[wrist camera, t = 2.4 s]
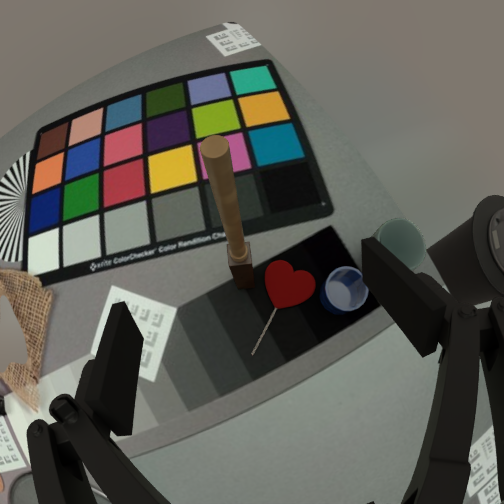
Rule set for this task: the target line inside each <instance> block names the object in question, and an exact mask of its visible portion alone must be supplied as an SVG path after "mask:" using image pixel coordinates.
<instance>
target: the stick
mask: <svg viewBox="0 0 504 504" xmlns="http://www.w3.org/2000/svg"><path fill="white" fill-rule="evenodd" d="M200 151H201V155H202V158H203V161H204V165H205V168H206V171H207V175H208V178H209V181H210V185H211V188H212V191H213V195H214V198H215V201H216V204H217V208H218V211H219V214H220V218H221V221H222V224H223V227H224V230H225V234H226V237H227V240H228V243H229V247H230V249H229V253H230V256H231V258H232V259H233V260H234V261H236V262H242V261H244V260H246V258H247V257H248V249H247V246H246V245H245V241H244V235H243V229H242V223H241V217H240V210H239V204H238V198H237V192H236V185H235V179H234V173H233V166H232V160H231V154H230V147H229V142H228V141H227V139H226V138H224V137H222V136H219V135H213V136H210V137H207V138H206V139H205V140H204V141H203V142H202V143H201V146H200Z"/></svg>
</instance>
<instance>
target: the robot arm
mask: <svg viewBox="0 0 504 504" xmlns="http://www.w3.org/2000/svg"><path fill="white" fill-rule="evenodd" d="M487 242H488V247H489V251H490V254H491V256H492V259H493V261H494V263H495V265H496V266H497V268H498V269H499V270H500V271H501V273H502V274H503V275H504V208H503V209H500V210H498V211H497V212H496V213H494V214H493V215H492V216H491V218H490V220H489V222H488V226H487ZM361 246H362V282H363V283H364V284H365V285H366V286H367V288H368V289H369V290H370V291H371V292H372V294H373V295H374V296H375V297H376V299H377V300H378V301H379V302H380V304H381V305H382V306H383V307H384V309H385V310H386V311H387V312H388V314H389V315H390V316H391V317H392V319H393V320H394V321H395V322H396V324H397V325H398V326H399V328H400V329H401V330H402V331H403V333H404V334H405V335H406V337H407V338H408V339H409V341H410V342H411V343H412V345H413V346H414V347H415V348H416V350H417V351H418V352H419V354H420V355H421V356H422V358H423V357H425V356H427V355H429V354H431V353H433V352H435V351H436V348H437V345H438V342H439V344H440V345H441V346H442V347H443V348H442V352H441V355H440V358H439V361H438V363H440V365H439V371H438V377H437V383H436V388H435V394H434V399H433V403H432V408H431V413H430V417H429V421H428V425H427V429H426V433H425V437H424V441H423V444H422V448H421V451H420V455H419V458H418V461H417V465H416V468H415V471H414V474H413V477H412V480H411V482H410V485H409V487H408V489H407V491H406V493H405V495H404V497H403V500H402V502H401V504H462V503H463V500H464V496H465V493H466V489H467V485H468V481H469V476H470V471H471V464H470V463H469V462H468V458H469V452H470V447H471V441H472V435H473V429H474V421H475V414H476V405H477V394H478V381H479V360H480V359H481V363H482V367H483V372H484V376H485V381H486V386H487V391H488V396H489V402H490V407H491V414H492V420H493V428H494V436H495V445H496V456H497V471H498V486H499V493H500V499H501V503H500V504H504V297H496V298H494V299H493V300H492V302H491V305H490V307H488V308H482V309H477V308H476V307H475V306H473V305H471V304H468V303H459V302H458V301H457V300H456V299H455V298H454V297H453V296H452V295H451V294H449V293H448V292H447V291H446V290H445V289H444V288H442V286H441V285H440V284H439V283H437V281H435V280H434V279H433V278H432V277H431V276H429V275H427V274H425V273H423V272H421V273H418V274H415V273H413V272H412V271H411V270H410V269H409V268H408V267H407V266H406V265H405V264H404V263H403V262H402V261H400V260H399V259H398V258H397V257H396V256H395V255H394V254H393V253H392V252H390V251H389V250H388V249H387V248H386V247H385V246H384V245H383V244H381V243H380V242H379V241H378V240H377V239H376V238H375V237H369V238H366V239H362V240H361ZM143 341H144V338H143V336H142V334H141V332H140V330H139V328H138V327H137V325H136V323H135V321H134V319H133V317H132V315H131V313H130V311H129V309H128V307H127V305H126V303H125V301H123V302H119V303H115V304H112V307H111V310H110V313H109V316H108V319H107V322H106V325H105V328H104V331H103V334H102V337H101V341H100V344H99V347H98V351H97V354H96V357H95V359H93V360H89V361H88V362H87V363H86V365H85V366H84V368H83V370H82V374H81V378H80V381H79V384H78V388H77V391H76V395H75V398H74V399H73V398H72V397H71V396H70V395H69V394H61V395H59V396H57V397H56V398H55V399H54V400H53V401H52V402H51V404H50V407H49V412H50V415H51V416H52V417H53V418H54V419H55V420H56V421H57V422H55V423H52V424H50V425H48V424H47V423H46V422H45V421H44V420H41V419H38V420H35V421H34V422H32V423H31V424H30V426H29V427H28V429H27V443H28V450H29V457H30V463H31V469H32V474H33V480H34V485H35V489H36V494H37V498H38V502H39V504H97V502H96V499H95V497H94V494H93V491H92V489H91V486H90V483H89V480H88V478H87V475H86V472H85V469H84V466H83V463H84V465H85V466H86V468H87V469H88V471H89V472H90V474H91V475H92V477H93V478H94V480H95V481H96V482H97V484H98V485H99V487H100V488H101V489H102V491H103V492H104V494H105V495H106V496H107V498H108V499H109V500H110V502H111V503H112V504H171V503H170V502H169V501H168V500H167V499H166V498H165V497H164V496H163V495H162V494H161V493H160V492H159V491H158V490H157V489H156V488H155V487H154V486H153V485H152V484H151V483H150V482H149V481H148V480H147V479H146V478H145V477H144V476H143V475H142V473H141V472H140V471H139V470H138V469H137V468H136V467H135V466H134V465H133V463H132V462H131V461H130V460H129V459H128V458H127V456H126V455H125V454H124V453H123V452H122V450H121V449H120V448H119V447H118V446H117V444H116V443H115V442H114V441H113V440H112V439H111V438H110V432H111V431H112V432H113V433H114V434H115V435H116V436H129V435H132V428H133V418H134V408H135V399H136V391H137V383H138V375H139V368H140V361H141V354H142V347H143ZM82 462H83V463H82ZM367 504H375V503H374V501H372V502H370V503H367Z"/></svg>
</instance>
